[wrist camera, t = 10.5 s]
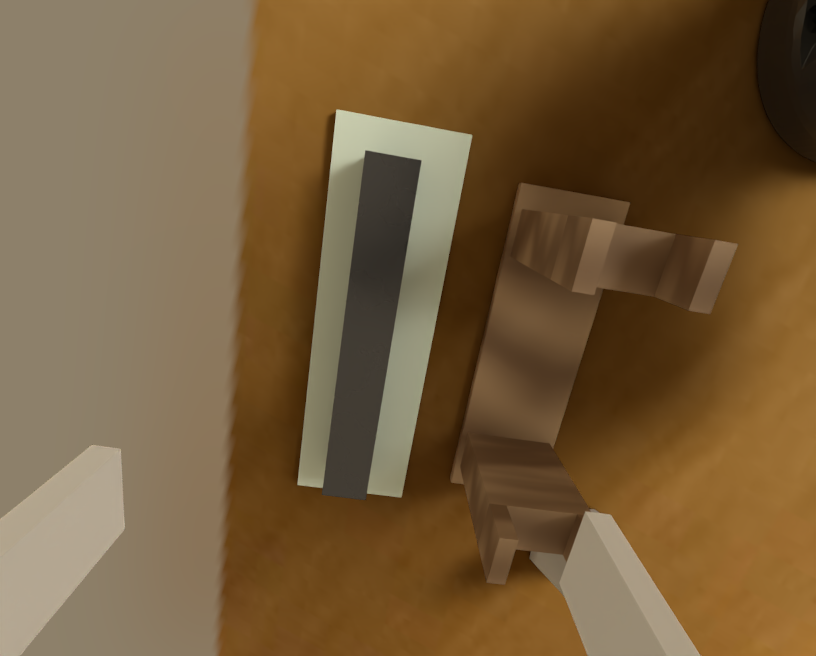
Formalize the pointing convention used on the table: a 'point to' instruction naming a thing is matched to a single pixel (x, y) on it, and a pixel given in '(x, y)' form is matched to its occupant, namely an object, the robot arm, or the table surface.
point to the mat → (417, 294)
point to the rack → (556, 356)
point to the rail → (369, 319)
